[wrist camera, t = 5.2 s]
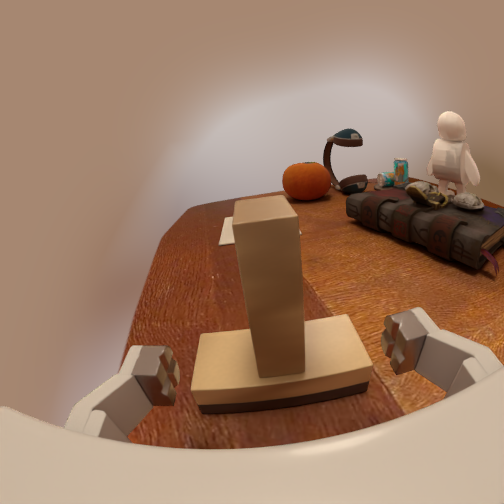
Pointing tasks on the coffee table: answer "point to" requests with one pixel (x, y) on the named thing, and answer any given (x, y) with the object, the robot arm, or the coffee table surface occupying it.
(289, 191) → the fruit
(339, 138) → the headphones
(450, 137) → the toy robot
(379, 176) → the soda cans on board
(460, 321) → the coffee table surface
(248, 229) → the wooden post on base
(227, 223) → the flat beige rectangular tile
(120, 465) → the robot arm
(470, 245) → the book
